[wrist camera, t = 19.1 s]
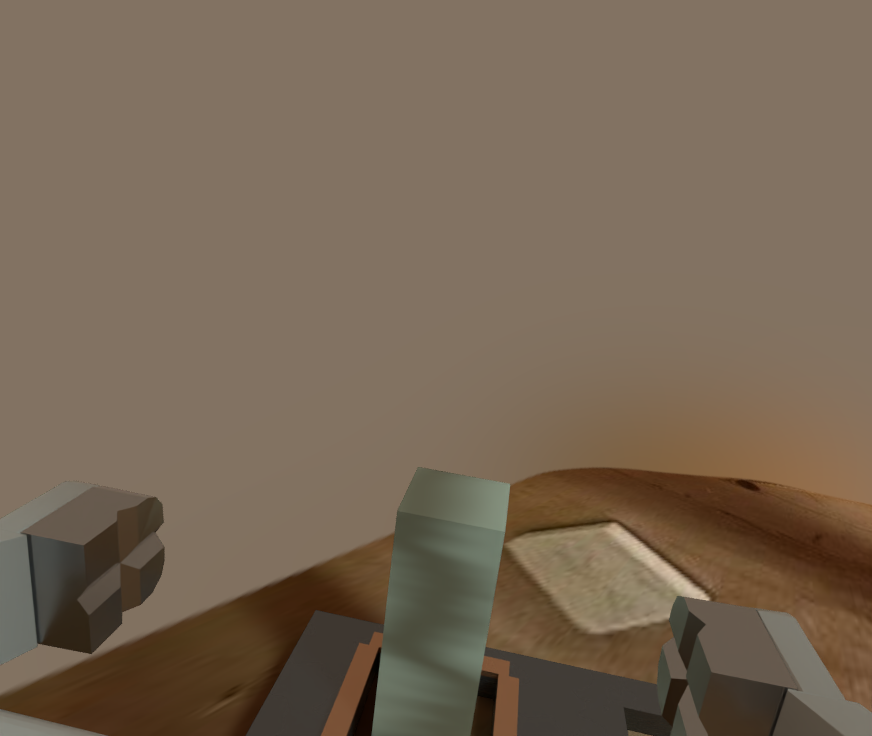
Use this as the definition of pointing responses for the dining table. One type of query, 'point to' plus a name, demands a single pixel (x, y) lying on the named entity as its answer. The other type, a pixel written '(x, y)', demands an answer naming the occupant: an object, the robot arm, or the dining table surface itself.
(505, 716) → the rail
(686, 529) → the dining table surface
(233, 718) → the dining table surface
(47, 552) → the robot arm
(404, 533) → the peg
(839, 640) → the dining table surface
